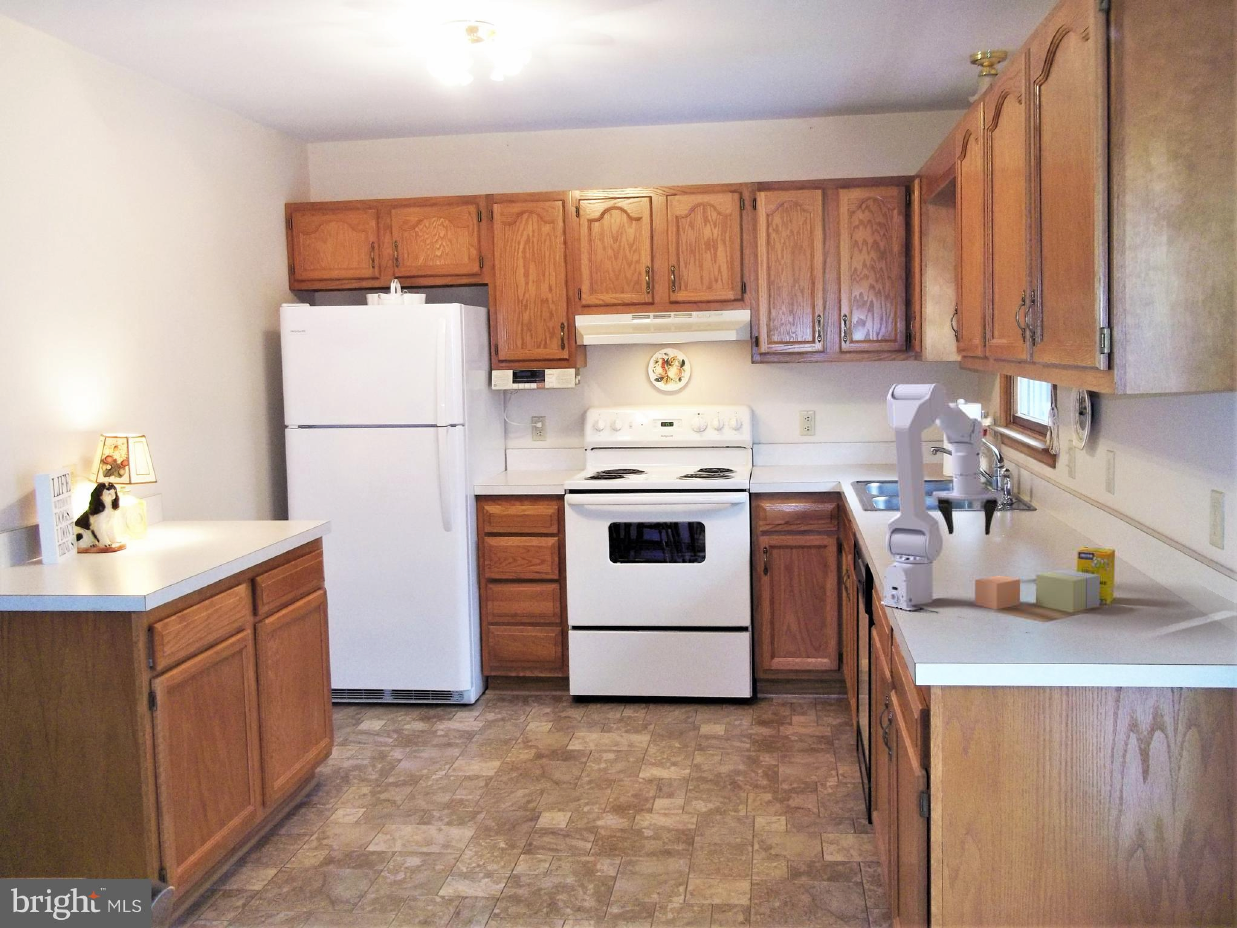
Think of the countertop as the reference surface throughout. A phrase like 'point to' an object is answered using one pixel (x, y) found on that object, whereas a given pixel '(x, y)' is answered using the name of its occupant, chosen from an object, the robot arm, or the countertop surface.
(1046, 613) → the walnut board
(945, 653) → the countertop surface
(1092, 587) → the slate book
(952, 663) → the countertop surface
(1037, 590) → the olive book
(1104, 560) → the supplement box
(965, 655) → the countertop surface
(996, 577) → the terracotta block
